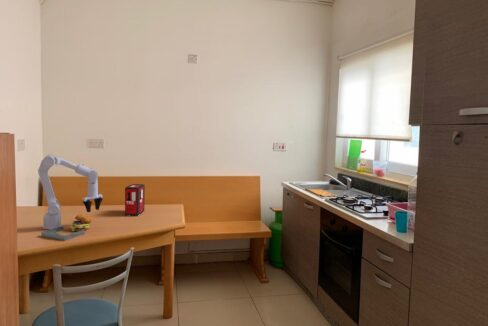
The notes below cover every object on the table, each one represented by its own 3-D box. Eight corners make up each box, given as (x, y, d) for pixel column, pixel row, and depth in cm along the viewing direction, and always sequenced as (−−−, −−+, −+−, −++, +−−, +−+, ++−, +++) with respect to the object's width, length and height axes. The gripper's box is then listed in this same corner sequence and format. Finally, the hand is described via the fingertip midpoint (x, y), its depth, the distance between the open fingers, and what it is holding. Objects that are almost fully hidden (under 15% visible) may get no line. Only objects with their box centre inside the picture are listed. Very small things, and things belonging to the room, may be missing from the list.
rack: (41, 236, 208) (41, 231, 208) (62, 230, 222) (62, 225, 222) (64, 240, 202) (64, 235, 202) (84, 233, 216) (84, 228, 216)
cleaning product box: (132, 210, 278) (132, 183, 276) (144, 211, 278) (144, 184, 276) (124, 215, 261) (125, 187, 259) (137, 216, 261) (137, 188, 259)
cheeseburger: (66, 229, 222) (69, 213, 223) (82, 230, 231) (85, 214, 232) (76, 232, 217) (79, 215, 218) (92, 233, 225) (95, 216, 227)
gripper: (89, 191, 224) (89, 213, 225) (106, 188, 237) (106, 209, 238) (80, 190, 226) (80, 212, 227) (97, 187, 240) (97, 208, 241)
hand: (93, 210), depth 233 cm, fingers open, 7 cm apart
